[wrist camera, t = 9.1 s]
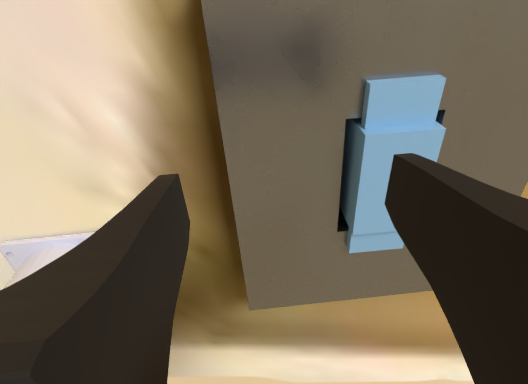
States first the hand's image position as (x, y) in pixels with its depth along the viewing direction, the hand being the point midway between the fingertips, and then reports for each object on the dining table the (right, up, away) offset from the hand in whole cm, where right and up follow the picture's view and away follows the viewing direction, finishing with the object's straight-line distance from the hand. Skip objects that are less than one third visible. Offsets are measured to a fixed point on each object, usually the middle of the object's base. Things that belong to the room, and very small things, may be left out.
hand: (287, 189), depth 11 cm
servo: (+6, +3, +10) cm, 12 cm away
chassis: (+6, +2, +10) cm, 12 cm away
